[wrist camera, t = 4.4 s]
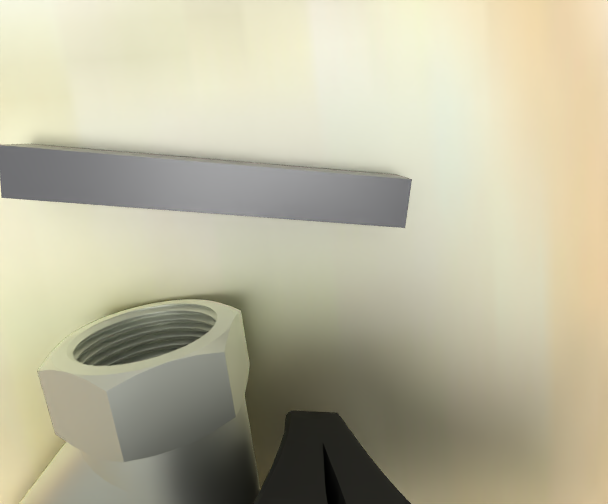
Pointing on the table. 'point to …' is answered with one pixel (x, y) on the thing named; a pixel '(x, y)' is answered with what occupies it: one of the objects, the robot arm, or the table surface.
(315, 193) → the dark grey bars
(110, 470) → the pipe fitting
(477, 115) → the table surface
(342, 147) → the table surface
